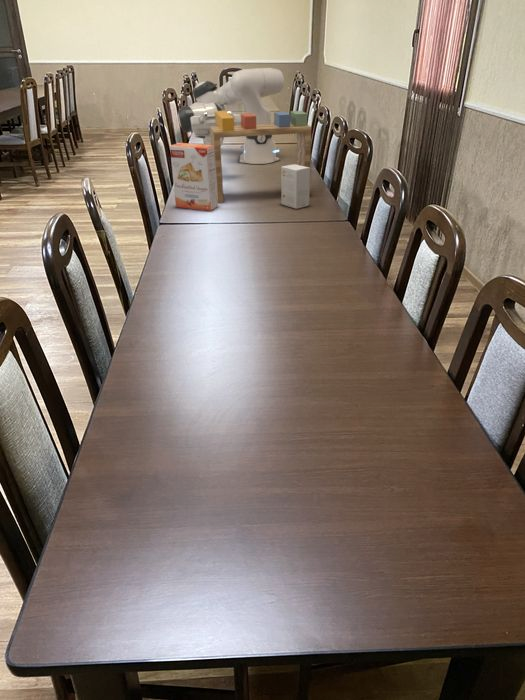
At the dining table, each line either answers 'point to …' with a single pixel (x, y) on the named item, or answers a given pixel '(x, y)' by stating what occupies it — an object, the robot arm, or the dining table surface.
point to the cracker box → (194, 176)
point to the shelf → (261, 129)
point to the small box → (295, 186)
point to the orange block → (224, 120)
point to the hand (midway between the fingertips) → (217, 113)
